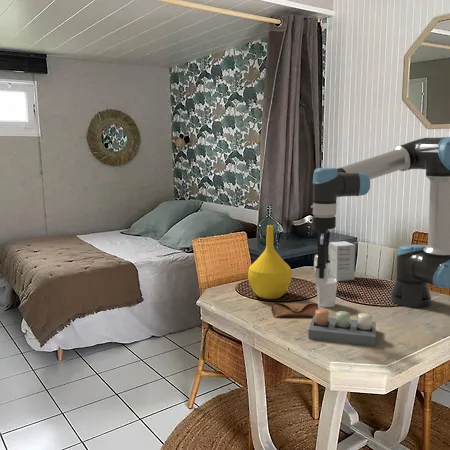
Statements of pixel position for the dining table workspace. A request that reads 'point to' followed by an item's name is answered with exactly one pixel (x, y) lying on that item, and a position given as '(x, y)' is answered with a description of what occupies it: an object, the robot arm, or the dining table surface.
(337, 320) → the button sage
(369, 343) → the panel
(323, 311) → the button terracotta
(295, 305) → the sunglasses case
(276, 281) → the vase
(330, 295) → the white cup
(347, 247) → the supplement box
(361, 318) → the button cream
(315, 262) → the beer glass
